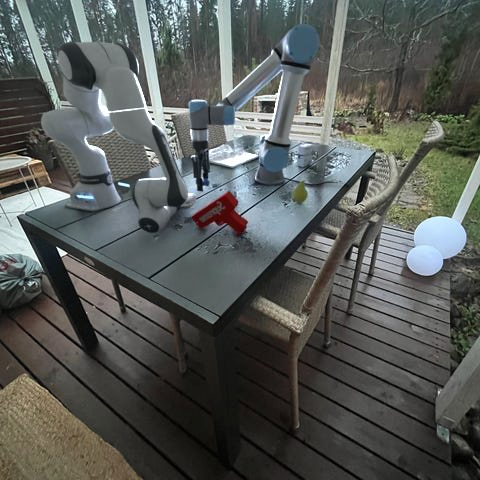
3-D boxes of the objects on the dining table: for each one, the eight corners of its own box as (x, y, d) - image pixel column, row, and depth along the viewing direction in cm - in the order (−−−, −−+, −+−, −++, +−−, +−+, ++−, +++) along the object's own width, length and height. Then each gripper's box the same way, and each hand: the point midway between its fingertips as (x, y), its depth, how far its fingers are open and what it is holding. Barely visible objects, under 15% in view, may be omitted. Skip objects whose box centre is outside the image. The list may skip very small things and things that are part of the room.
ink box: (304, 162, 171) (306, 143, 164) (310, 164, 168) (313, 144, 161) (296, 165, 166) (298, 145, 159) (302, 167, 163) (305, 147, 156)
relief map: (232, 167, 162) (232, 159, 160) (191, 158, 180) (190, 150, 177) (257, 157, 181) (258, 149, 178) (218, 149, 198) (217, 142, 196)
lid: (212, 183, 132) (212, 179, 131) (202, 187, 128) (202, 183, 127) (203, 180, 135) (202, 176, 134) (193, 183, 131) (192, 179, 130)
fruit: (288, 200, 123) (290, 174, 116) (302, 197, 125) (305, 172, 119) (296, 206, 118) (299, 179, 111) (310, 203, 120) (314, 177, 114)
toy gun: (254, 223, 98) (229, 189, 94) (251, 228, 95) (225, 194, 91) (219, 242, 108) (195, 212, 104) (215, 247, 105) (190, 217, 101)
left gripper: (190, 199, 102) (199, 186, 113) (138, 197, 104) (153, 184, 116) (192, 214, 105) (201, 199, 117) (142, 211, 108) (155, 197, 119)
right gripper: (201, 134, 129) (204, 180, 142) (181, 143, 114) (187, 194, 126) (215, 135, 127) (217, 182, 140) (198, 144, 112) (202, 196, 124)
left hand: (176, 191), depth 116 cm, fingers closed on jar, 5 cm apart
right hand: (203, 188), depth 133 cm, fingers closed on lid, 6 cm apart
